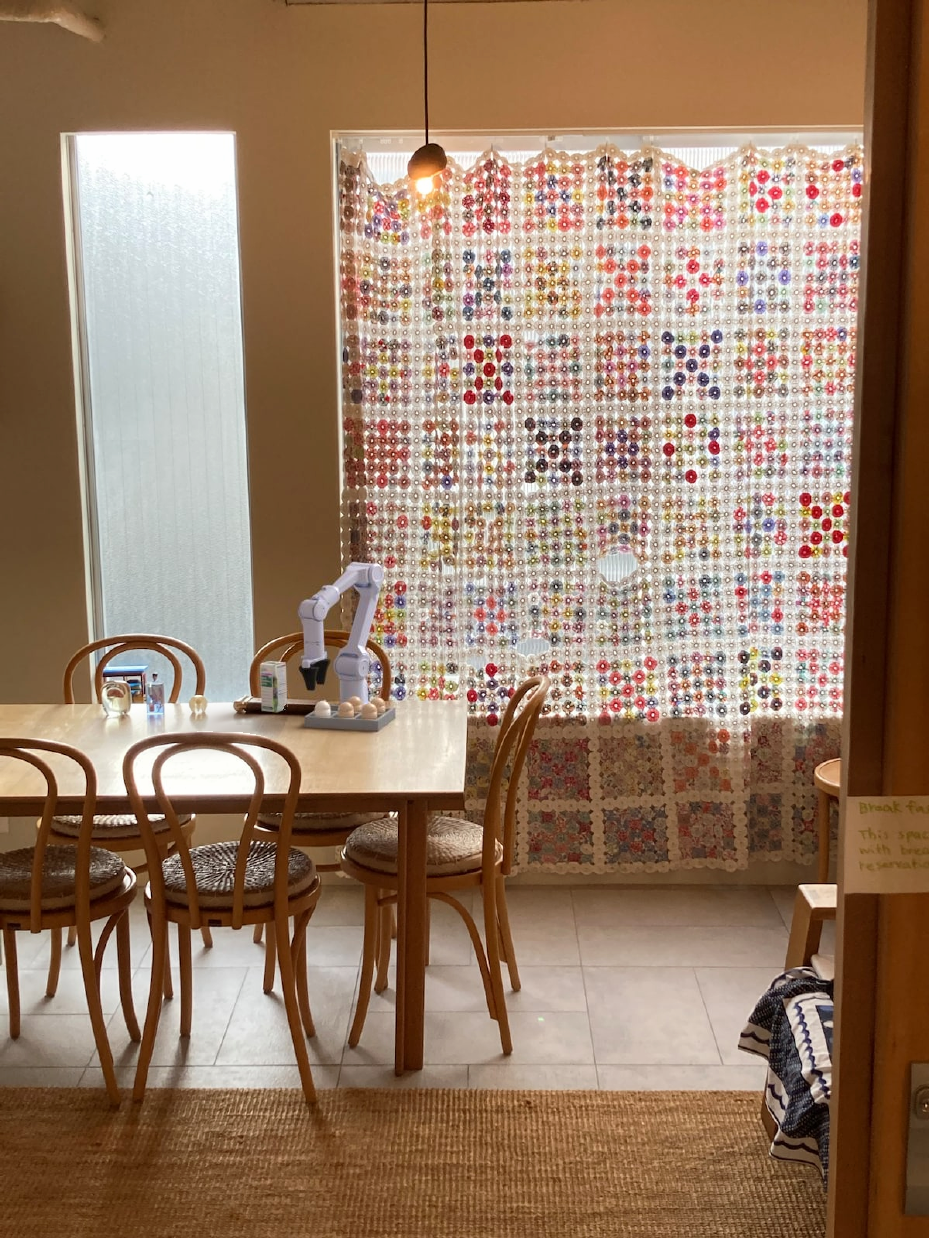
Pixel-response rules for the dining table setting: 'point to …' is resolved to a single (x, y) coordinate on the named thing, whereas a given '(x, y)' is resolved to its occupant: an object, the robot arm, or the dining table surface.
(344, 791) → the dining table surface
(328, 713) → the white egg
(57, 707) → the dining table surface
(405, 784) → the dining table surface
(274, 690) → the syrup box
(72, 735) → the dining table surface
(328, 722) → the egg carton
